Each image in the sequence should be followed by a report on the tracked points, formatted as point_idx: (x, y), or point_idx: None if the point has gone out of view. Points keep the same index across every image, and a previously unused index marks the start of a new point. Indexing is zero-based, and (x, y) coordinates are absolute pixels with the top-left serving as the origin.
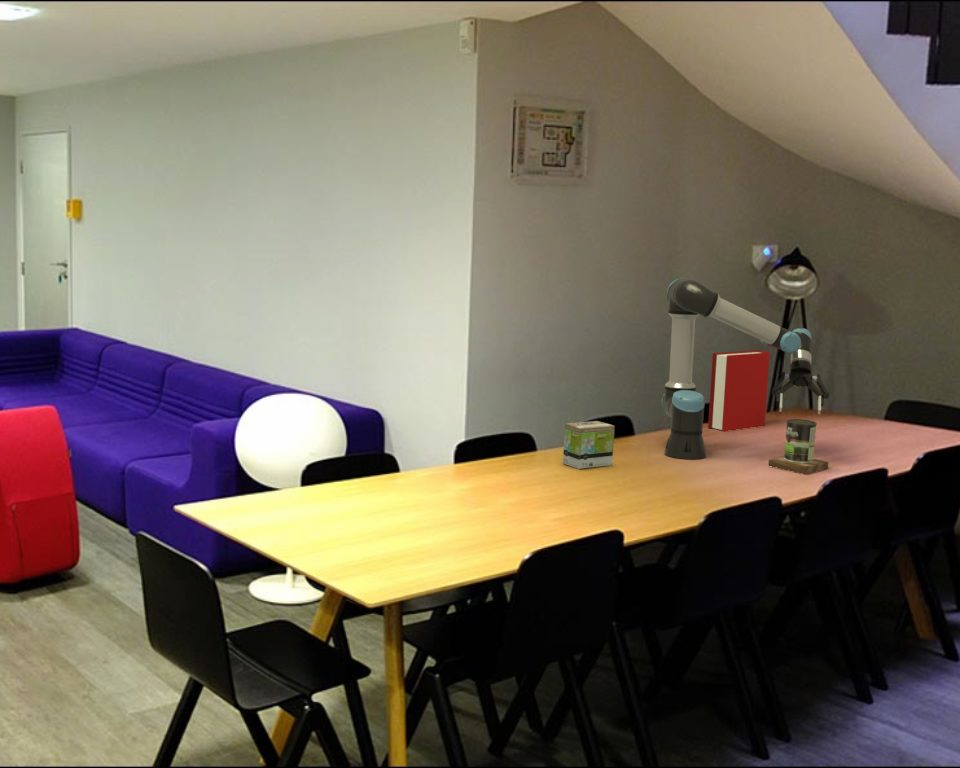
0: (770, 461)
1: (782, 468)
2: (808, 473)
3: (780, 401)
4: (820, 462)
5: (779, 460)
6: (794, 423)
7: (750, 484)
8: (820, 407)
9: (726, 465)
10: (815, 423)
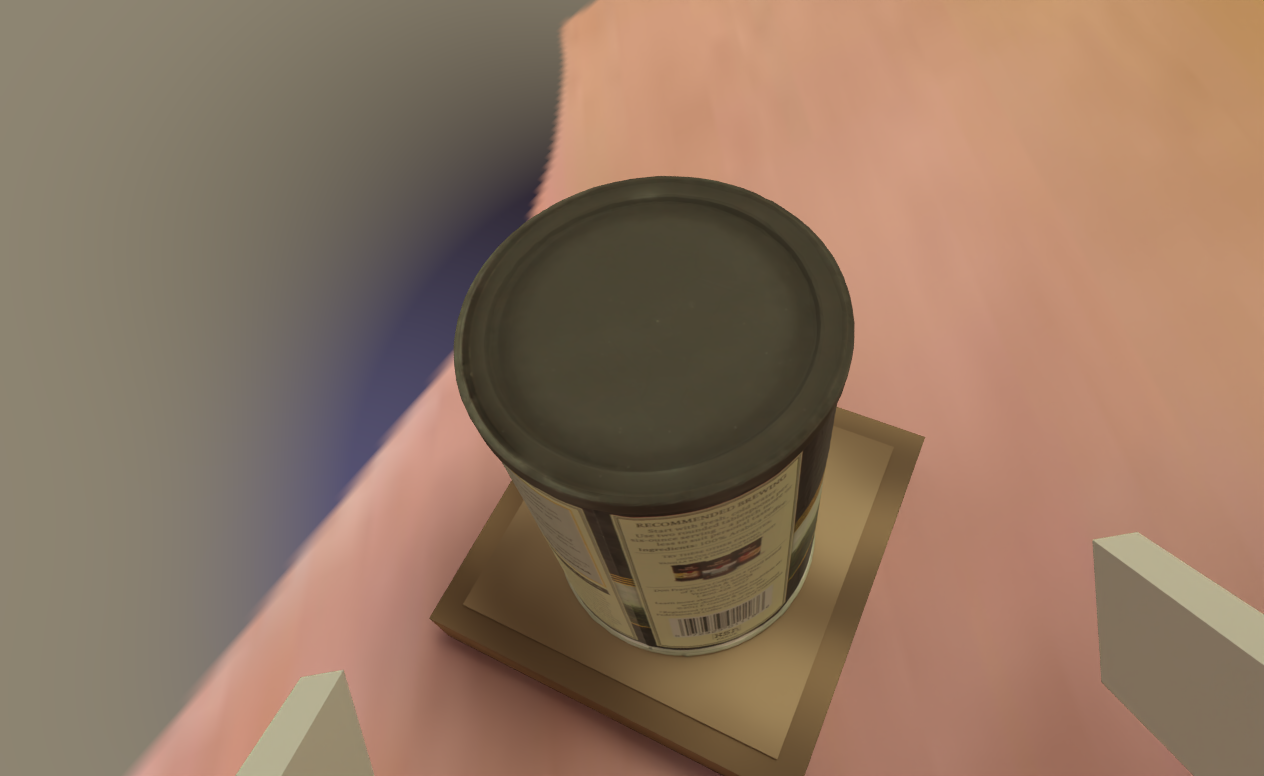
0: (904, 436)
1: None
2: None
3: (1247, 609)
4: (499, 542)
5: (832, 437)
6: (720, 183)
7: (870, 25)
8: (282, 721)
9: (1210, 342)
10: (469, 320)
